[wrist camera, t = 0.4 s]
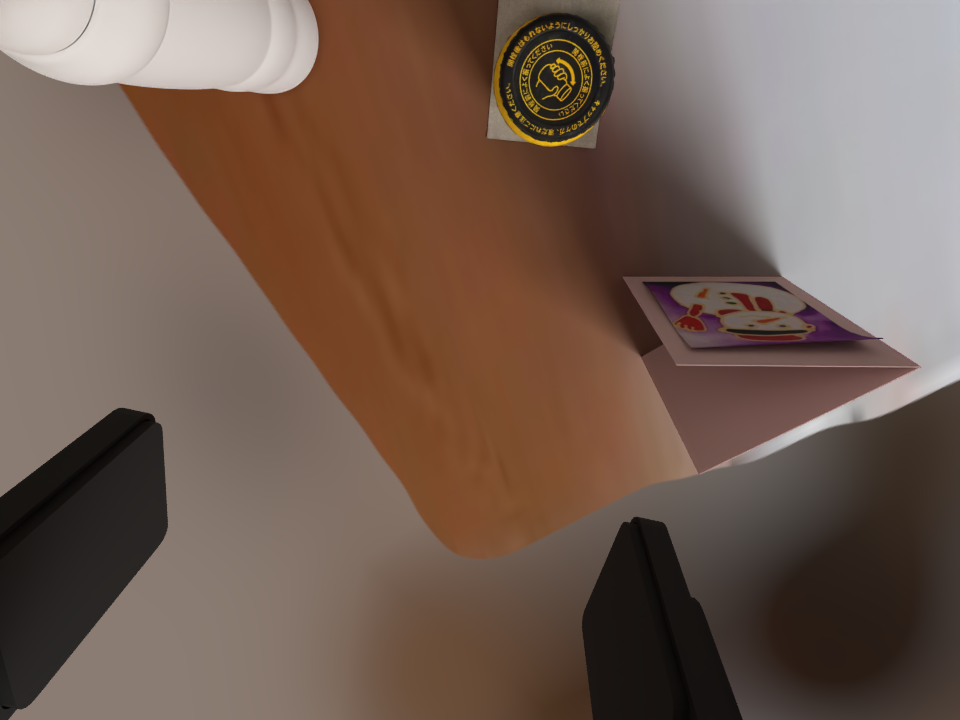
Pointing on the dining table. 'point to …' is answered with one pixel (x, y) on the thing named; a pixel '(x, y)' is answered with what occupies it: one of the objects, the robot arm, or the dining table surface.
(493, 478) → the dining table surface
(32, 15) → the water bottle
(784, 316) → the greeting card
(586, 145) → the condiment
